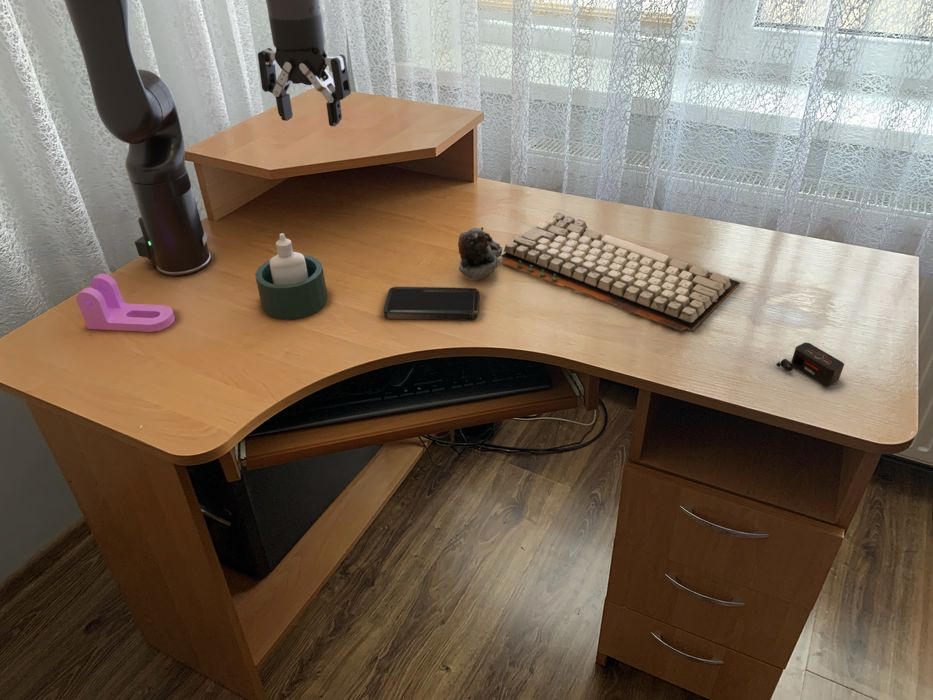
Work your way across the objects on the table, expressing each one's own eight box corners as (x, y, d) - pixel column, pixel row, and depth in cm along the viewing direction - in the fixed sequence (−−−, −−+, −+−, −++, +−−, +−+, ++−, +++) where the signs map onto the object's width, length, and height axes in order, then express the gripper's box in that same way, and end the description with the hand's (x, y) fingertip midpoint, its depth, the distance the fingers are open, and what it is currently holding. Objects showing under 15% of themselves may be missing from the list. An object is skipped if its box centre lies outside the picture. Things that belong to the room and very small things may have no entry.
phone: (476, 314, 115) (382, 312, 116) (476, 320, 116) (382, 318, 117) (479, 287, 121) (390, 285, 123) (479, 293, 122) (390, 291, 123)
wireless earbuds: (796, 356, 106) (801, 338, 104) (839, 382, 102) (846, 364, 100) (774, 367, 105) (779, 349, 103) (817, 394, 100) (823, 376, 98)
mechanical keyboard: (740, 283, 123) (744, 266, 121) (689, 337, 111) (693, 319, 109) (551, 223, 142) (552, 207, 140) (491, 263, 131) (491, 247, 129)
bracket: (88, 328, 117) (72, 291, 113) (105, 309, 121) (91, 273, 117) (165, 332, 116) (152, 295, 111) (180, 312, 120) (168, 276, 116)
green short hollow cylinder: (249, 313, 119) (242, 281, 116) (284, 280, 127) (278, 250, 124) (306, 324, 116) (300, 292, 113) (338, 290, 124) (333, 259, 121)
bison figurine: (465, 252, 134) (463, 201, 128) (503, 253, 133) (504, 202, 127) (456, 287, 124) (453, 234, 118) (497, 289, 123) (497, 235, 117)
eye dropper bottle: (305, 307, 119) (293, 242, 112) (273, 304, 120) (259, 239, 113) (315, 293, 123) (304, 229, 116) (283, 290, 124) (270, 226, 117)
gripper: (350, 8, 107) (362, 118, 117) (266, 2, 111) (284, 109, 121) (325, 20, 101) (339, 135, 111) (237, 14, 105) (258, 125, 115)
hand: (310, 121), depth 116 cm, fingers open, 8 cm apart
